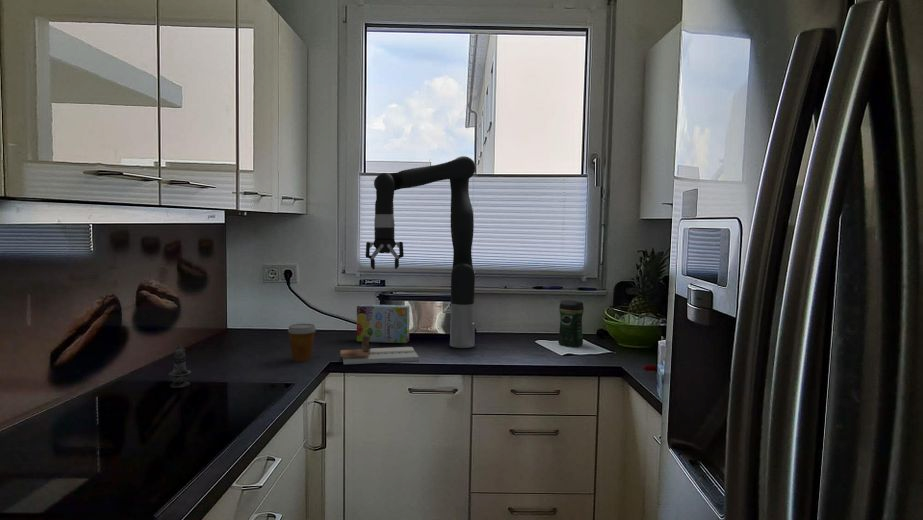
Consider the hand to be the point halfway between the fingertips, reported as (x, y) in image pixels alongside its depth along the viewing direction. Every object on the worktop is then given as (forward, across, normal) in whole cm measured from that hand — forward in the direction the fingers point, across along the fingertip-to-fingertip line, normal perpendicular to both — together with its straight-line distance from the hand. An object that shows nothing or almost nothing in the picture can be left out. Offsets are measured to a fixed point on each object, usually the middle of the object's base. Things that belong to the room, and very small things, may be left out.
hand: (384, 269), depth 198 cm
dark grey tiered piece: (+30, +64, +33) cm, 78 cm away
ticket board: (+31, +4, +13) cm, 34 cm away
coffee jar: (+33, -75, +7) cm, 82 cm away
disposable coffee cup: (+31, +31, +10) cm, 44 cm away
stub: (+29, +13, +16) cm, 35 cm away
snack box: (+31, -1, -15) cm, 35 cm away
